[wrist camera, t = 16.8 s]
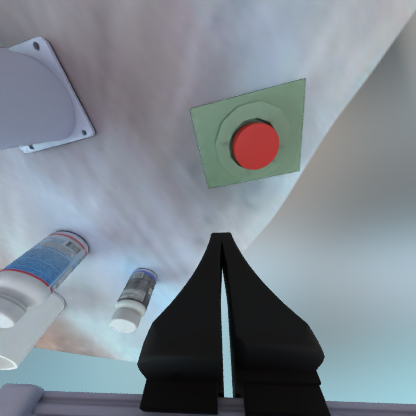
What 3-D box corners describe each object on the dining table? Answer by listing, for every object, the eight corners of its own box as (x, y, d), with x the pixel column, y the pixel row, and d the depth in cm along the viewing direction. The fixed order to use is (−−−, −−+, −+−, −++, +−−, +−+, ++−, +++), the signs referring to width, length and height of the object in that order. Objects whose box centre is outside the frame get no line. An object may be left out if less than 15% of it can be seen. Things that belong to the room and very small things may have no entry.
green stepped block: (209, 181, 20) (207, 195, 17) (192, 109, 16) (186, 108, 13) (291, 165, 19) (308, 176, 15) (294, 82, 15) (318, 72, 11)
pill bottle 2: (153, 286, 32) (135, 337, 24) (130, 279, 31) (104, 329, 23) (160, 272, 29) (142, 323, 22) (135, 264, 28) (108, 315, 21)
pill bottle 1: (44, 228, 25) (-64, 300, 15) (82, 230, 25) (-3, 303, 15) (61, 256, 28) (-20, 330, 18) (95, 257, 28) (31, 332, 18)
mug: (11, 278, 32) (-67, 341, 23) (64, 291, 33) (10, 354, 25) (22, 309, 38) (-36, 368, 29) (67, 318, 39) (24, 377, 31)
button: (234, 168, 15) (237, 173, 14) (229, 127, 14) (231, 129, 12) (272, 160, 15) (279, 165, 13) (272, 117, 13) (279, 117, 12)
